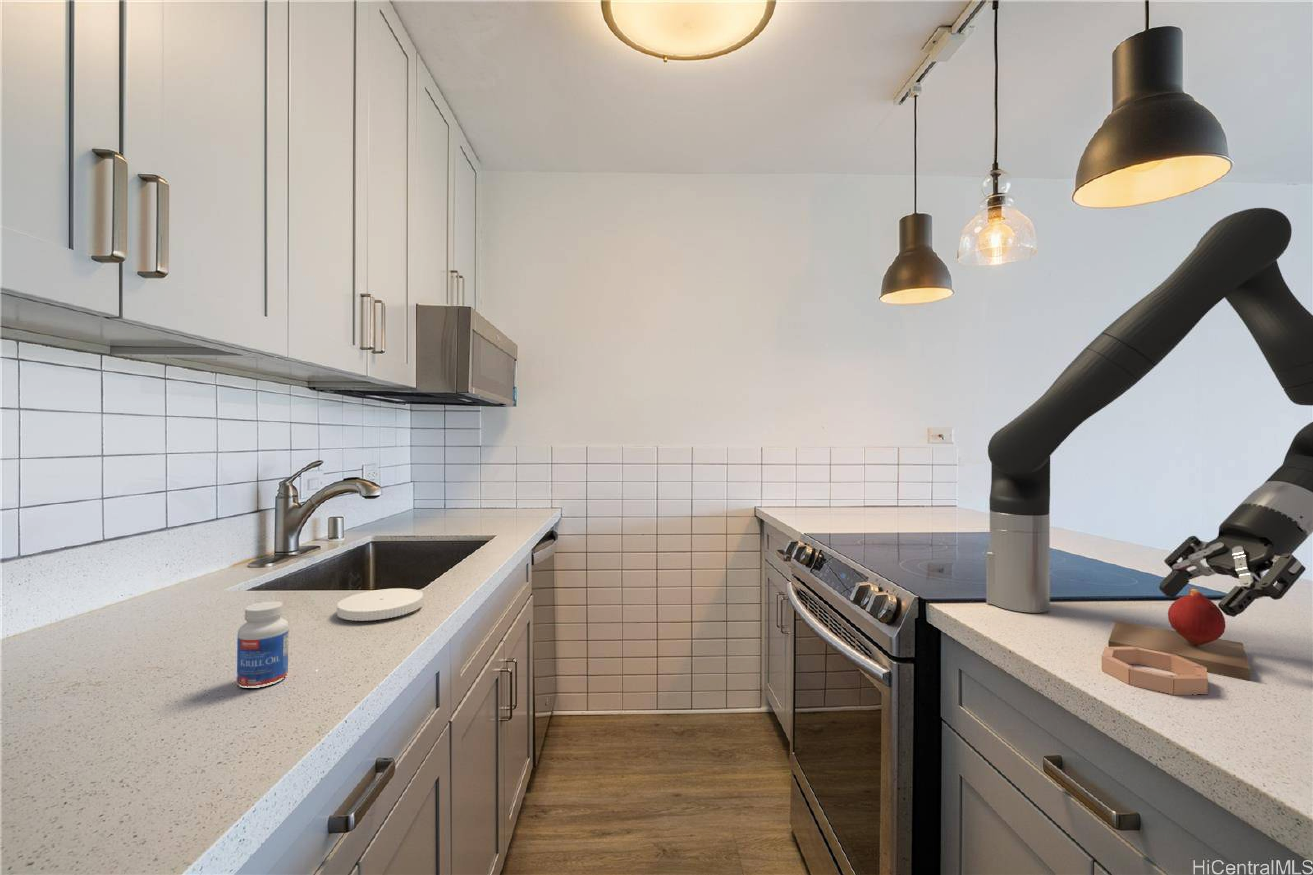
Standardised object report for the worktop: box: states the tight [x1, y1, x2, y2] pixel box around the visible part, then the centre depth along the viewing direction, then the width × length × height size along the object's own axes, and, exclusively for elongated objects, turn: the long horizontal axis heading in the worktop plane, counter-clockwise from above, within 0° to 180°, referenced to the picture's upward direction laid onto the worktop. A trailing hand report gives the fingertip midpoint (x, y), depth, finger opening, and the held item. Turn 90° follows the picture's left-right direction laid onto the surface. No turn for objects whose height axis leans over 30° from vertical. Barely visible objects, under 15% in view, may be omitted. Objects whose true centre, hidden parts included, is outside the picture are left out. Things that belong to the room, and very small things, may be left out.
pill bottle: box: [236, 601, 290, 687], centre depth 71 cm, size 6×5×10 cm
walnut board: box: [1107, 620, 1251, 681], centre depth 79 cm, size 14×12×2 cm
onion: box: [1167, 588, 1226, 646], centre depth 78 cm, size 6×6×8 cm
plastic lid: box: [336, 587, 425, 622], centre depth 99 cm, size 14×14×2 cm
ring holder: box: [1101, 646, 1209, 696], centre depth 71 cm, size 10×10×2 cm
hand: (1193, 602), depth 78 cm, fingers open, 8 cm apart
